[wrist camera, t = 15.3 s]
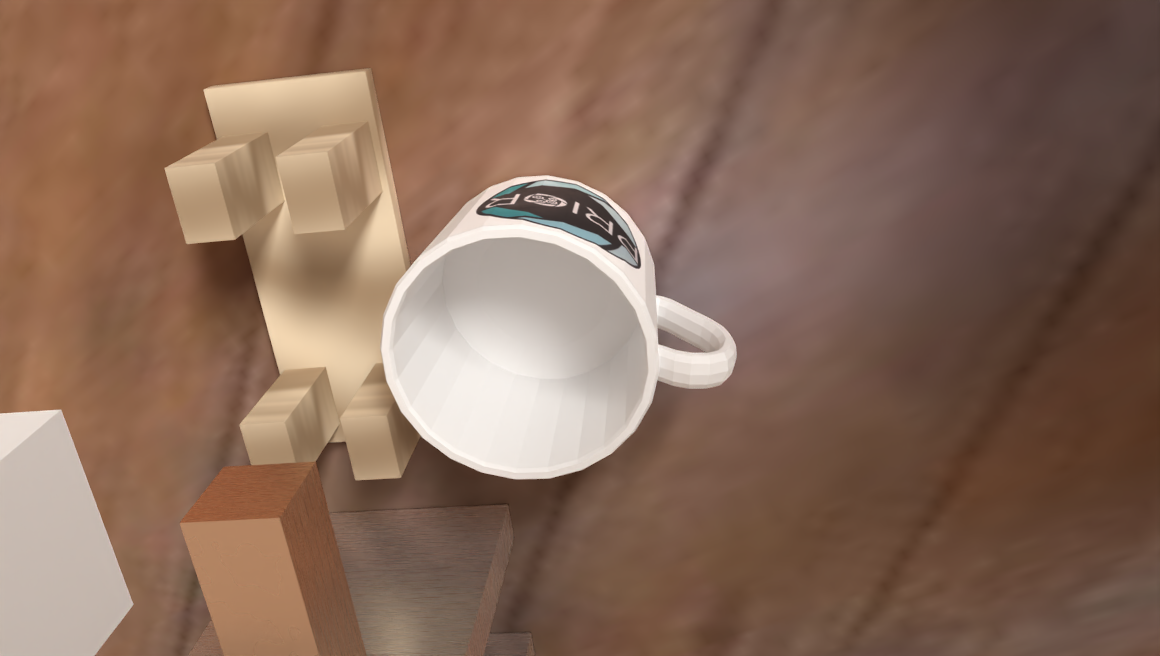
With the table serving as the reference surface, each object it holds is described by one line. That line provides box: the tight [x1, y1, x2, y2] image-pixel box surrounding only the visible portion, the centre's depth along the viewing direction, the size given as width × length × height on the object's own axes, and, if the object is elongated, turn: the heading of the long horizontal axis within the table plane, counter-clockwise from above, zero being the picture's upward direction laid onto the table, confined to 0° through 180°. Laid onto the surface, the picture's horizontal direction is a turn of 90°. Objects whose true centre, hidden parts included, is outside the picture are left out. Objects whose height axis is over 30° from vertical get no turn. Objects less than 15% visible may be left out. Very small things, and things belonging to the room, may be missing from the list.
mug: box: [380, 175, 737, 479], centre depth 41 cm, size 13×10×8 cm
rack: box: [164, 68, 422, 480], centre depth 42 cm, size 17×7×6 cm, turn 7°
